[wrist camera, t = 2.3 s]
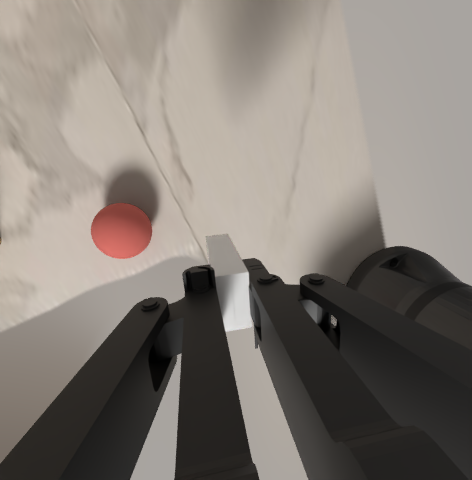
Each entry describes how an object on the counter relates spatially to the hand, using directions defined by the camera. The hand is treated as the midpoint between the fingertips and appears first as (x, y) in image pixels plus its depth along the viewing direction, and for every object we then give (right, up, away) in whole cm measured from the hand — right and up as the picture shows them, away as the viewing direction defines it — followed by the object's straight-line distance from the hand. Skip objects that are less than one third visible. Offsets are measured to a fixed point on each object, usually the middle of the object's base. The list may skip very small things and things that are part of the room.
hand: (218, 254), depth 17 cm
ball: (-11, +2, +10) cm, 15 cm away
